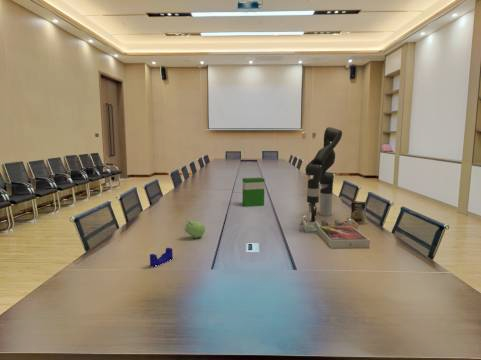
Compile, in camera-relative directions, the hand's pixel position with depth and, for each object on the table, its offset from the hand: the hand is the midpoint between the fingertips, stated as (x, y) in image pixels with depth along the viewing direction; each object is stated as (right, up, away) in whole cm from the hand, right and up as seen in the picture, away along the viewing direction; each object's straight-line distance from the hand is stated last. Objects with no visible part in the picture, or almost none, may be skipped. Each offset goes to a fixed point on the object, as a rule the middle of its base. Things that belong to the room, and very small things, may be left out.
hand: (312, 220), depth 219 cm
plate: (+13, -4, +1) cm, 14 cm away
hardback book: (-36, +4, +74) cm, 83 cm away
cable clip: (-87, -15, -54) cm, 103 cm away
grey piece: (+13, -6, +1) cm, 14 cm away
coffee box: (+35, -5, +14) cm, 38 cm away
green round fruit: (-75, -9, -16) cm, 78 cm away
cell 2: (0, -1, 0) cm, 1 cm away
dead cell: (+25, -5, +1) cm, 25 cm away
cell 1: (-3, -5, +14) cm, 15 cm away
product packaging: (+14, -10, -19) cm, 26 cm away
